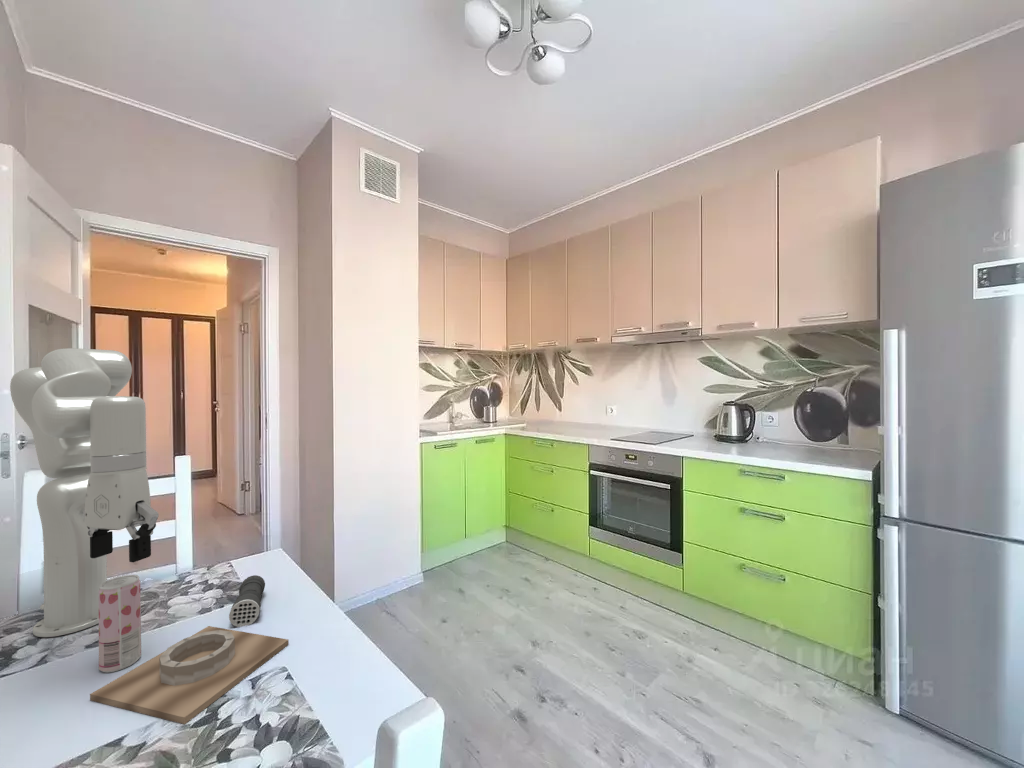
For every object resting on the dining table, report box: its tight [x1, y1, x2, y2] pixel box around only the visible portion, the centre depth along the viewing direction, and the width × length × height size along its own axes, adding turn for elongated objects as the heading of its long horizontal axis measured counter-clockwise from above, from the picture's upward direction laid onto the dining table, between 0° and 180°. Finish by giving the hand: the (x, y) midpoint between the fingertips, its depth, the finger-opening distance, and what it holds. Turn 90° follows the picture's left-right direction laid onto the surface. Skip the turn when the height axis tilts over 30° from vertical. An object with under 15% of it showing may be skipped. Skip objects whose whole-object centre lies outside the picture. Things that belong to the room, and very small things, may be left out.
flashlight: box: [228, 574, 266, 628], centre depth 96 cm, size 15×5×5 cm, turn 26°
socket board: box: [89, 625, 290, 725], centre depth 75 cm, size 20×20×4 cm
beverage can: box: [98, 574, 142, 673], centre depth 77 cm, size 6×6×15 cm
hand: (120, 557), depth 77 cm, fingers open, 9 cm apart
